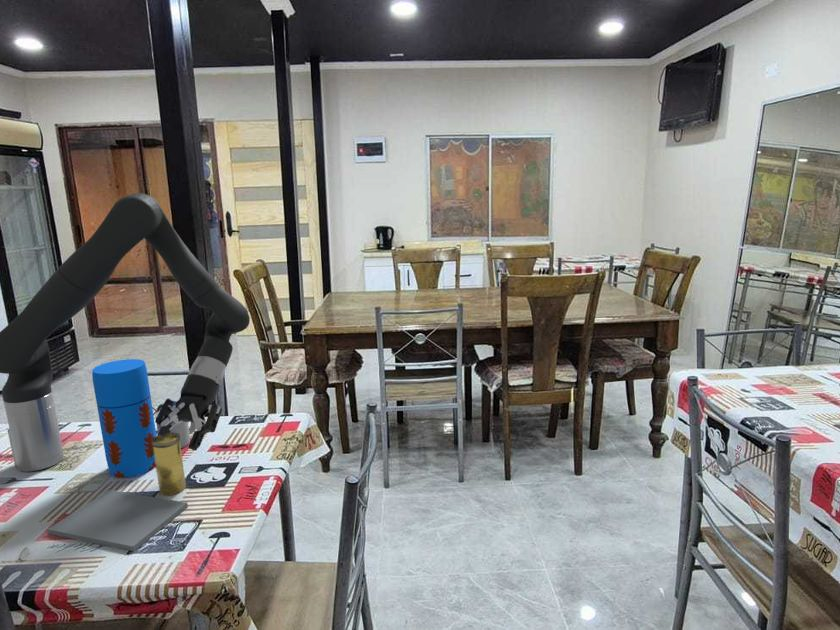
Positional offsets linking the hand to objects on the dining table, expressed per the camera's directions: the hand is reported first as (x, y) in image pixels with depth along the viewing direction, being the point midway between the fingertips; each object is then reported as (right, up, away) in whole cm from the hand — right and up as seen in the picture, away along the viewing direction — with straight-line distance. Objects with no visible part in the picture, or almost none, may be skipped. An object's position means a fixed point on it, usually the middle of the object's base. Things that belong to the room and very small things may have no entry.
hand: (175, 447), depth 113 cm
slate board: (-6, -12, -11) cm, 17 cm away
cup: (-9, -4, +21) cm, 24 cm away
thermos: (-14, -7, +10) cm, 19 cm away
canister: (0, -9, 0) cm, 9 cm away
